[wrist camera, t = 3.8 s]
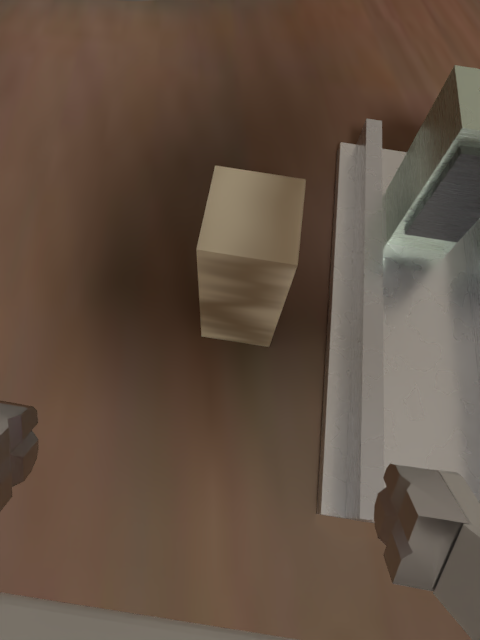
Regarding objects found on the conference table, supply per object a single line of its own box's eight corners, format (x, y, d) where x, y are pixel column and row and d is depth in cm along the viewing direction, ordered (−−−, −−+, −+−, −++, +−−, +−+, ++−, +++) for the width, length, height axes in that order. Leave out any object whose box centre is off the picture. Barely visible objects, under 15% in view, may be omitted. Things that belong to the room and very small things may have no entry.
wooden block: (201, 336, 27) (196, 249, 18) (215, 265, 30) (217, 156, 21) (269, 347, 27) (297, 265, 18) (277, 274, 30) (306, 170, 21)
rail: (316, 513, 23) (396, 515, 13) (337, 151, 35) (387, 8, 25) (529, 547, 23) (769, 574, 13) (477, 173, 35) (583, 38, 25)
